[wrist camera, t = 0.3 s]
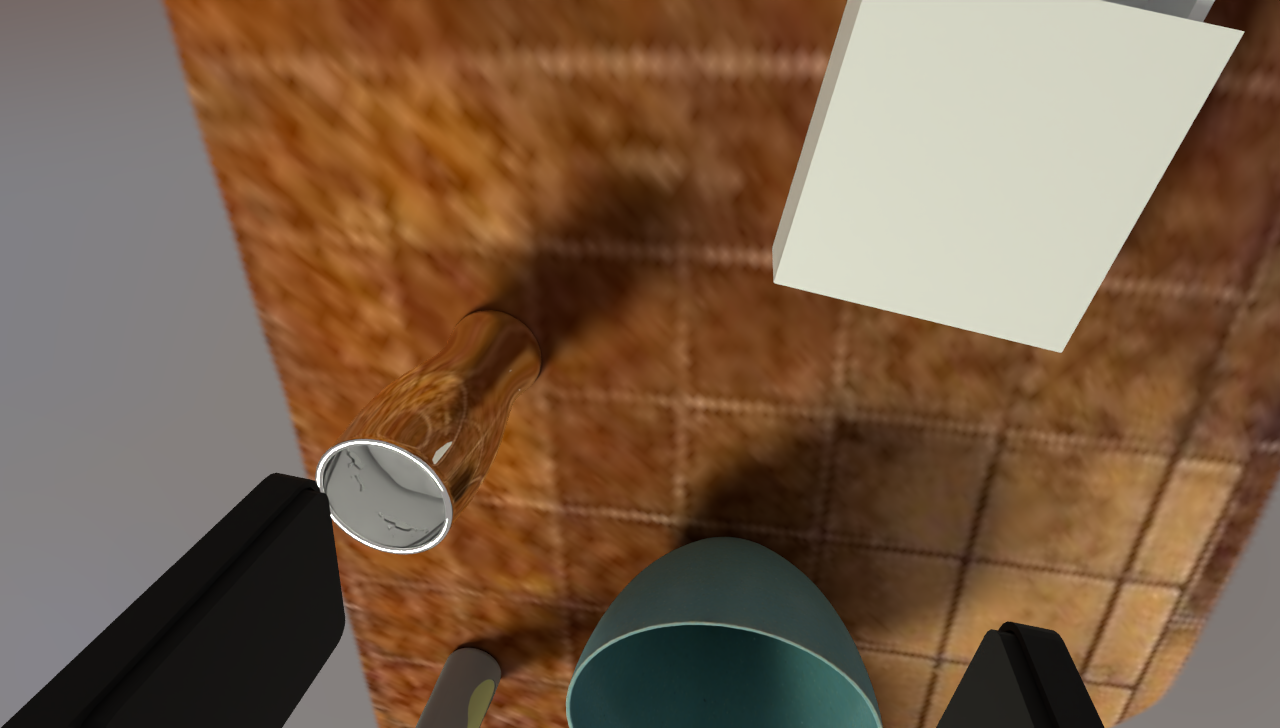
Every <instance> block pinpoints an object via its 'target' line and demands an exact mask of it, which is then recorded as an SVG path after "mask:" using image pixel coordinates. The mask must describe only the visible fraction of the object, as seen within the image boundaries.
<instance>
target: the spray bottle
mask: <svg viewBox="0 0 1280 728" xmlns="http://www.w3.org/2000/svg"><path fill="white" fill-rule="evenodd" d="M500 679H501V670H500V667H499V664H498V663H497V661H496V660H495V659H494V658H493V657H492V656H491V655H489V654H488V653H486V652H484V651H481V650H479V649H475V648H462V649H458V650H456V651H454V652H453V653H452V654H451V655H450V656H449V657H448V659H447V661H446V663H445V665H444V667H443V670H442V672H441V674H440V676H439V678H438V680H437V683H436V685H435V687H434V690H433V692H432V694H431V696H430V698H429V700H428V702H427V704H426V706H425V708H424V710H423V712H422V715H421V717H420V719H419V721H418V723H417V725H416V728H480V725H481V723H482V721H483V718H484V716H485V714H486V712H487V710H488V708H489V705H490V703H491V701H492V699H493V696H494V694H495V691H496V689H497V687H498V684H499V682H500Z"/></svg>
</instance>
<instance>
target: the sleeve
mask: <svg viewBox="0 0 1280 728" xmlns="http://www.w3.org/2000/svg"><path fill="white" fill-rule="evenodd" d="M1244 32H1245V31H1240V30H1236V29H1231V28H1226V27H1222V26H1217V25H1212V24H1208V23H1203V22H1199V21H1194V20H1189V19H1185V18H1180V17H1176V16H1171V15H1166V14H1162V13H1157V12H1153V11H1148V10H1143V9H1139V8H1134V7H1130V6H1125V5H1120V4H1116V3H1111V2H1106V1H1102V0H848V1H847V4H846V7H845V10H844V14H843V17H842V20H841V24H840V27H839V30H838V33H837V37H836V40H835V43H834V47H833V50H832V53H831V56H830V60H829V63H828V66H827V70H826V73H825V76H824V79H823V83H822V86H821V89H820V93H819V96H818V99H817V102H816V106H815V109H814V112H813V116H812V119H811V122H810V126H809V129H808V132H807V135H806V139H805V142H804V145H803V149H802V152H801V155H800V158H799V162H798V165H797V168H796V172H795V175H794V178H793V181H792V185H791V188H790V191H789V195H788V198H787V201H786V204H785V208H784V211H783V214H782V218H781V221H780V224H779V227H778V231H777V234H776V237H775V241H774V244H773V247H772V253H773V280H774V283H776V284H780V285H784V286H788V287H792V288H797V289H801V290H805V291H809V292H813V293H817V294H821V295H825V296H830V297H834V298H838V299H842V300H846V301H850V302H854V303H858V304H862V305H867V306H871V307H875V308H879V309H883V310H887V311H891V312H895V313H900V314H904V315H908V316H912V317H916V318H920V319H924V320H928V321H932V322H937V323H941V324H945V325H949V326H953V327H957V328H961V329H965V330H970V331H974V332H978V333H982V334H986V335H990V336H994V337H998V338H1002V339H1007V340H1011V341H1015V342H1019V343H1023V344H1027V345H1031V346H1035V347H1040V348H1044V349H1048V350H1052V351H1056V352H1060V353H1062V351H1063V349H1064V348H1065V346H1066V344H1067V342H1068V341H1069V339H1070V337H1071V335H1072V334H1073V332H1074V330H1075V328H1076V327H1077V325H1078V323H1079V321H1080V320H1081V318H1082V316H1083V314H1084V313H1085V311H1086V309H1087V307H1088V306H1089V304H1090V302H1091V300H1092V299H1093V297H1094V295H1095V293H1096V292H1097V290H1098V288H1099V286H1100V285H1101V283H1102V281H1103V279H1104V278H1105V276H1106V274H1107V272H1108V271H1109V269H1110V267H1111V265H1112V264H1113V262H1114V260H1115V258H1116V256H1117V255H1118V253H1119V251H1120V249H1121V248H1122V246H1123V244H1124V242H1125V241H1126V239H1127V237H1128V235H1129V234H1130V232H1131V230H1132V228H1133V227H1134V225H1135V223H1136V221H1137V220H1138V218H1139V216H1140V214H1141V213H1142V211H1143V209H1144V207H1145V206H1146V204H1147V202H1148V200H1149V199H1150V197H1151V195H1152V193H1153V192H1154V190H1155V188H1156V186H1157V185H1158V183H1159V181H1160V179H1161V178H1162V176H1163V174H1164V172H1165V171H1166V169H1167V167H1168V165H1169V164H1170V162H1171V160H1172V158H1173V157H1174V155H1175V153H1176V151H1177V150H1178V148H1179V146H1180V144H1181V142H1182V141H1183V139H1184V137H1185V135H1186V134H1187V132H1188V130H1189V128H1190V127H1191V125H1192V123H1193V121H1194V120H1195V118H1196V116H1197V114H1198V113H1199V111H1200V109H1201V107H1202V106H1203V104H1204V102H1205V100H1206V99H1207V97H1208V95H1209V93H1210V92H1211V90H1212V88H1213V86H1214V85H1215V83H1216V81H1217V79H1218V78H1219V76H1220V74H1221V72H1222V71H1223V69H1224V67H1225V65H1226V64H1227V62H1228V60H1229V58H1230V57H1231V55H1232V53H1233V51H1234V50H1235V48H1236V46H1237V44H1238V43H1239V41H1240V39H1241V37H1242V36H1243V34H1244Z"/></svg>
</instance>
